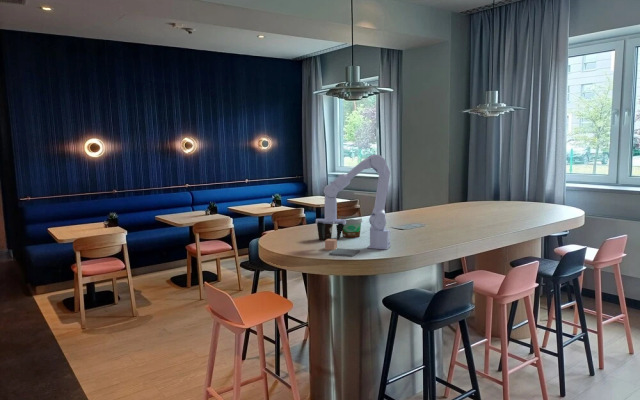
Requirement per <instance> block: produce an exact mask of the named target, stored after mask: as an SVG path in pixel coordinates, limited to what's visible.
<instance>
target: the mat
mask: <svg viewBox="0 0 640 400" xmlns="http://www.w3.org/2000/svg"><path fill="white" fill-rule="evenodd" d="M360 252H361V250H360V249H355V248H354V249H353V248H338V247H337V249H335V250H331V251H330V252H329V253H328V255H329V256H339V257H342V256H343V257H354V256H356V255H357V254H359V253H360Z"/></svg>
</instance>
